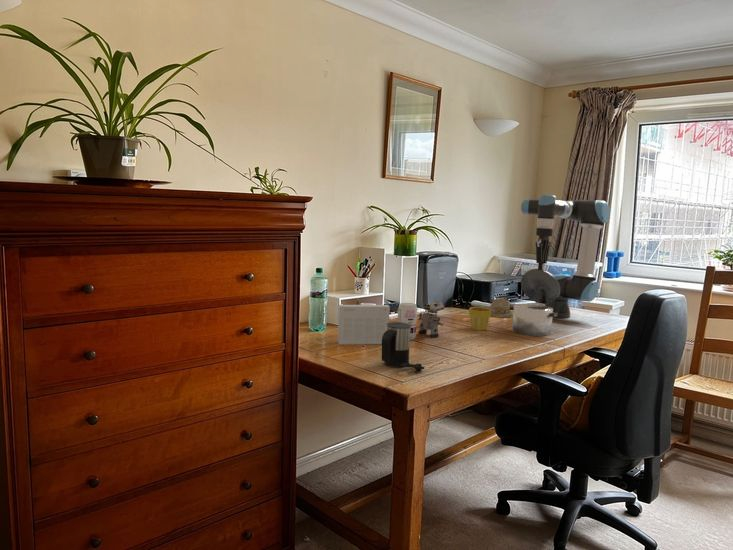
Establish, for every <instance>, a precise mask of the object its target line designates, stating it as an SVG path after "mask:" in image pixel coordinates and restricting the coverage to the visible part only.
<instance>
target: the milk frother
mask: <svg viewBox="0 0 733 550" xmlns="http://www.w3.org/2000/svg"><path fill="white" fill-rule="evenodd" d="M410 329H411V325H410V324H407V323H401V322H398V321H396V322H395V321H394V322H393V321H391V322H389V323H387V331H386V332H385V333H384V334H383V336H382V344H381V361H382V362H383V363H384V365H386V366H389V367H392V368H413V369H414V370H415V371H417V372H420V371H422V370H424V369H425V367H424V366H423V365H422V364H421V363H415V364H413V363H410V347H411V345H410V344H411V343H410V342H411V340H410Z"/></svg>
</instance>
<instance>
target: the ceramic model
mask: <svg viewBox="0 0 733 550" xmlns="http://www.w3.org/2000/svg"><path fill="white" fill-rule="evenodd" d="M510 306H512V302H510V301H509V300H508V299H504V297H500V298H495V299H494V300H493V301H492V302H491V303H490V307H489V309H491V317H493V318H502V319H513V312H512V310H510Z"/></svg>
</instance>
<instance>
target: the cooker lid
mask: <svg viewBox="0 0 733 550" xmlns="http://www.w3.org/2000/svg"><path fill="white" fill-rule="evenodd" d="M553 275H554V274H552V273H550V272H549V271H548V270H545V269H544V270H542V269H538V268H532V269H528V270H526V272H525V273H524V274H523V275H522V277H521V280H520V287H521V289H522V291H523V293H524V294H525V296H526V297H527V298H528V299H530V300H532V301H533V302H535V303H538V304H543V305H545V304H549V303H552V302H554V301H555V300H556V299H557V298H558V296H559V294H560V285H559V282H558V281H557V279H556V278H555V277H554V276H553Z"/></svg>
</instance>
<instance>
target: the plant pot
mask: <svg viewBox="0 0 733 550" xmlns="http://www.w3.org/2000/svg"><path fill="white" fill-rule="evenodd" d="M491 311H492V308H488V307H482V306H472V307H469V310H468V314H469V317H470V323H471V329H472V330H476V331H485V330H486V329H487V325H488V322H489V320H490V318H491V317H492V316H491Z"/></svg>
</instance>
